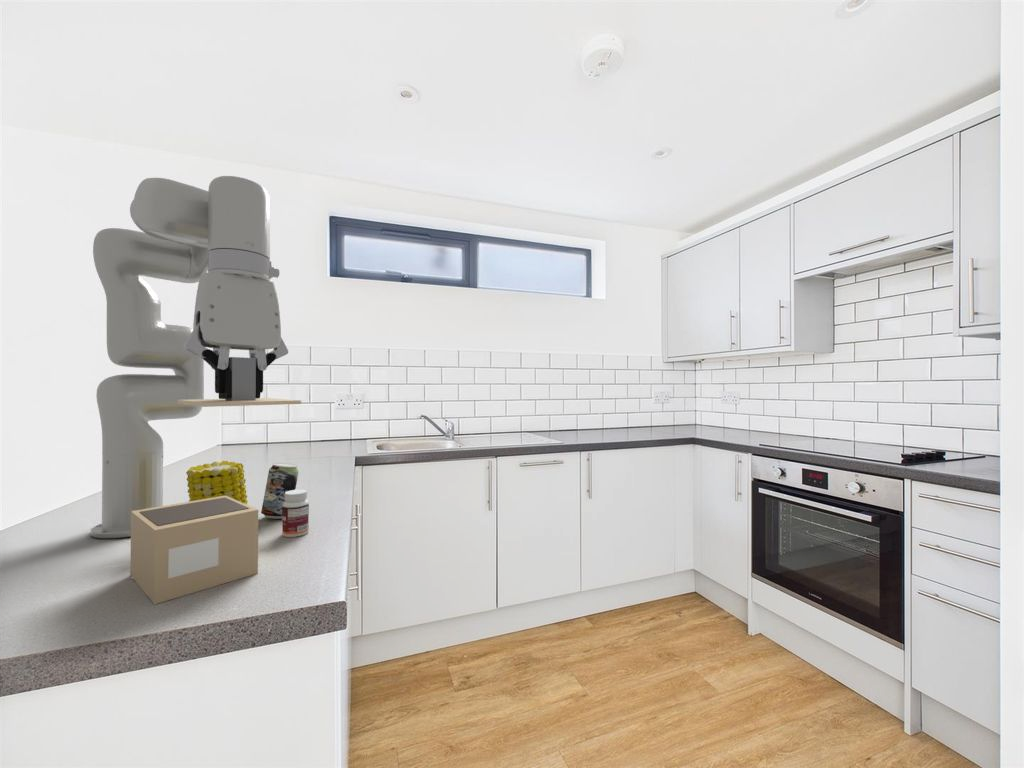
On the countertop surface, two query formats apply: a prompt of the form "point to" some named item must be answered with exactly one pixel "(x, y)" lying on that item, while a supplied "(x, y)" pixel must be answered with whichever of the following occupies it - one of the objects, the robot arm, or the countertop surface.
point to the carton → (192, 546)
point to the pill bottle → (295, 513)
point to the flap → (240, 388)
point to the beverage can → (278, 488)
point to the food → (217, 481)
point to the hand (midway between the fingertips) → (239, 397)
